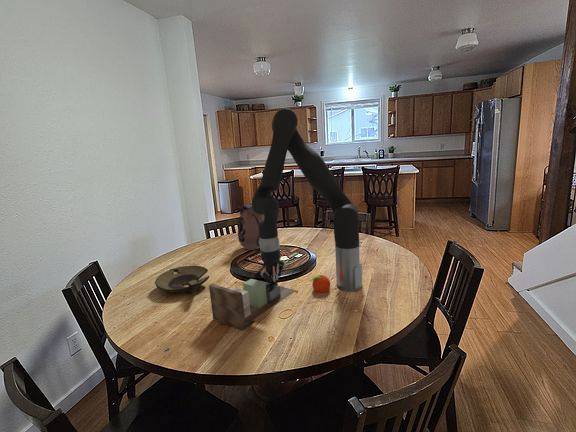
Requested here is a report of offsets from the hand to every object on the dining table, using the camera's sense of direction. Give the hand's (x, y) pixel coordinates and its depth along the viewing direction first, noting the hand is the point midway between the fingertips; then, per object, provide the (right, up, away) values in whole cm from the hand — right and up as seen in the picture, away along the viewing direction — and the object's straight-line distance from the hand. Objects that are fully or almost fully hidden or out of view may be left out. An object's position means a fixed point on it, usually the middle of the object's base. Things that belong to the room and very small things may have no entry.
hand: (274, 288), depth 125 cm
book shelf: (-6, -4, -8) cm, 11 cm away
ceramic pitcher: (-12, +10, +61) cm, 63 cm away
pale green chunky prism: (-6, -3, -8) cm, 11 cm away
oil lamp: (-39, -3, +11) cm, 41 cm away
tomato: (+18, -1, -1) cm, 18 cm away
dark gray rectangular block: (-3, -2, -4) cm, 6 cm away
